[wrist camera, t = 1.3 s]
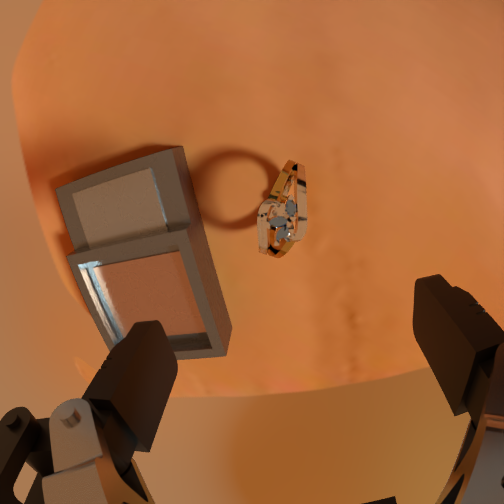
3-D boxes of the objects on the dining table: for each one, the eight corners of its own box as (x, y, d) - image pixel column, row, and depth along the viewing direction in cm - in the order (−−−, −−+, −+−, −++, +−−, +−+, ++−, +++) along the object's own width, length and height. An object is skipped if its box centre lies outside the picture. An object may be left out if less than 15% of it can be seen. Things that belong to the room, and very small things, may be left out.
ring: (277, 151, 24) (279, 160, 17) (314, 166, 25) (331, 183, 17) (247, 227, 27) (236, 265, 20) (281, 240, 27) (283, 283, 20)
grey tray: (72, 182, 26) (45, 192, 22) (182, 145, 25) (164, 149, 21) (130, 337, 33) (115, 362, 29) (232, 327, 31) (226, 356, 27)
